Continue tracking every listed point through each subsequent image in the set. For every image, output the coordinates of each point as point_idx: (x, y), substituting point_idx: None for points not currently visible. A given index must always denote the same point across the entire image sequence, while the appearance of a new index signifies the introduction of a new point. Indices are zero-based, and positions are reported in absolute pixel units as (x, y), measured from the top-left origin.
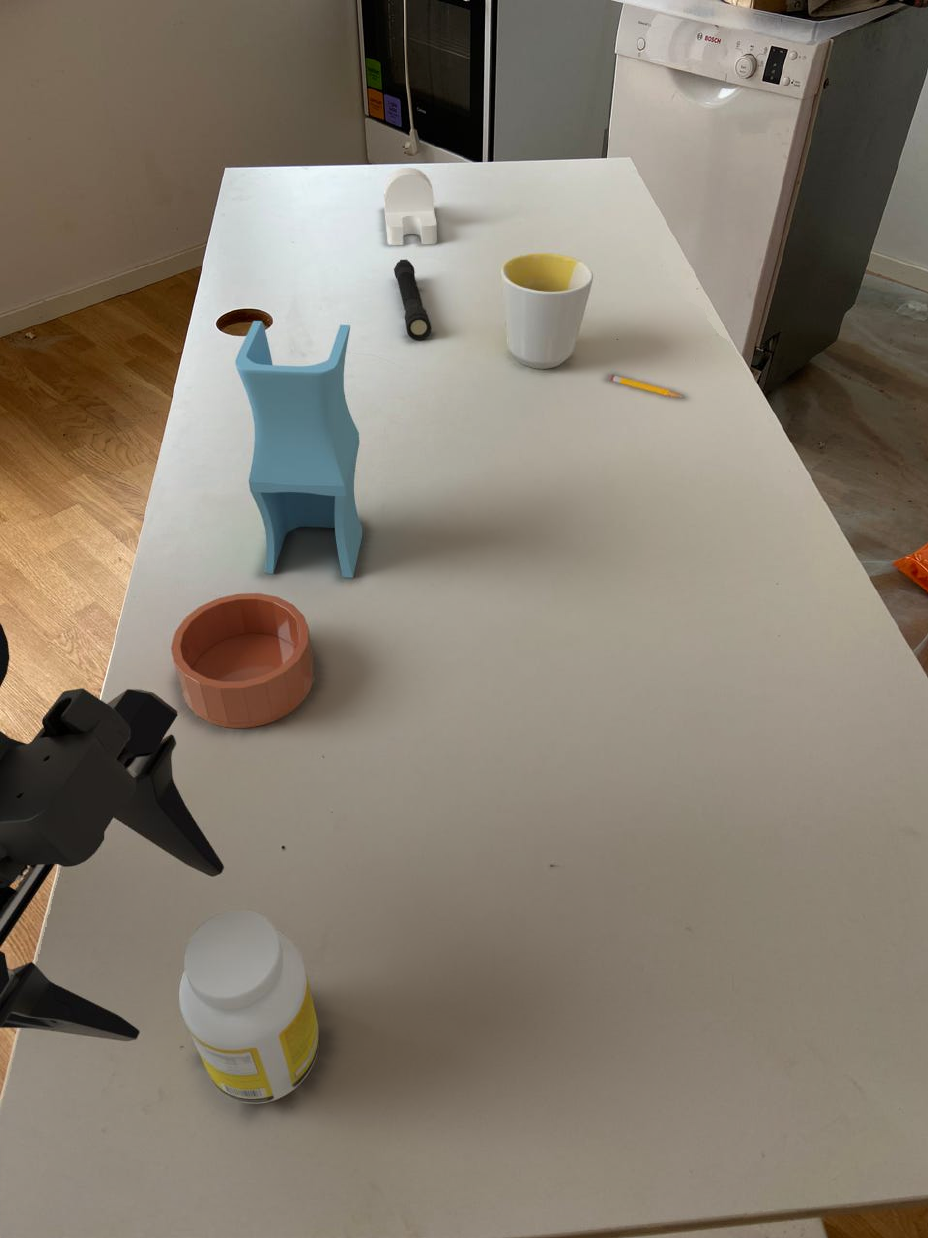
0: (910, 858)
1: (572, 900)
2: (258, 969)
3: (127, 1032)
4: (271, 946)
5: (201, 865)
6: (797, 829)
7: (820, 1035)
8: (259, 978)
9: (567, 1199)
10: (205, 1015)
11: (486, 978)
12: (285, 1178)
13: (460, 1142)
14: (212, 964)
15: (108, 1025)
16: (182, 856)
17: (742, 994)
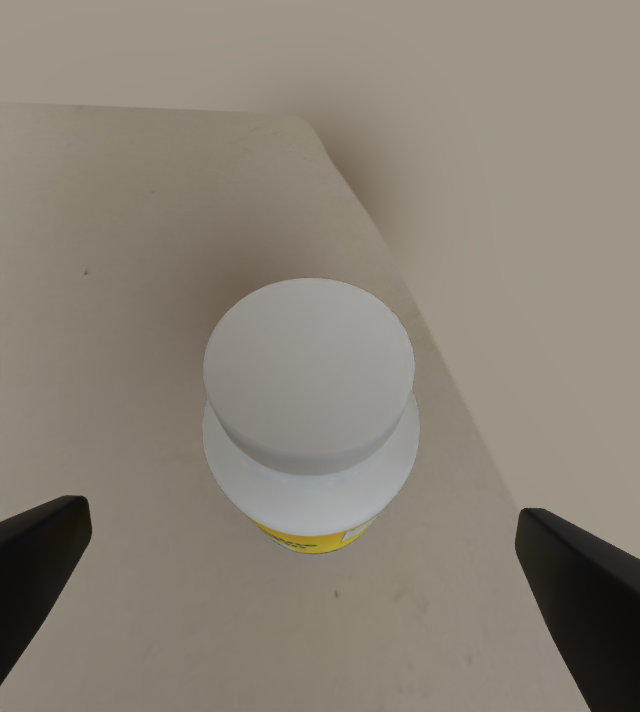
0: (101, 108)
1: (125, 255)
2: (332, 296)
3: (560, 522)
4: (279, 292)
5: (55, 557)
6: (69, 147)
7: (226, 139)
8: (348, 290)
9: (362, 232)
10: (398, 430)
11: (205, 301)
12: (426, 412)
13: None
14: (347, 380)
15: (621, 556)
16: (11, 632)
17: (203, 167)
